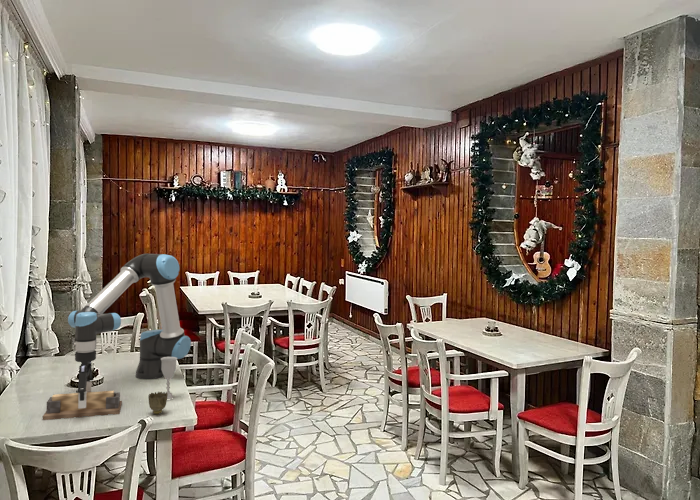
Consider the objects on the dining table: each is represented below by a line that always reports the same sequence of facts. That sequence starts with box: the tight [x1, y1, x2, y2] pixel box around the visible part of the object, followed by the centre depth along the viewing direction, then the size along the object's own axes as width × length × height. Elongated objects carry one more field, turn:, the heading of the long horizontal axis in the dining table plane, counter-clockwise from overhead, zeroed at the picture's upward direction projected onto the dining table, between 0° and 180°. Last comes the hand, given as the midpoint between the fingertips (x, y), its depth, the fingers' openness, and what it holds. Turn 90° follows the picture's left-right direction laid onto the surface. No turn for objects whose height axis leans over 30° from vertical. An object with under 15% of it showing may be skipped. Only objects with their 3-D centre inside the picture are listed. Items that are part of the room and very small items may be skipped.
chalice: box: [161, 357, 178, 400], centre depth 222 cm, size 7×7×18 cm
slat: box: [51, 390, 115, 411], centre depth 202 cm, size 22×3×6 cm, turn 110°
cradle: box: [42, 391, 123, 421], centre depth 203 cm, size 27×12×6 cm, turn 110°
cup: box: [148, 391, 168, 415], centre depth 204 cm, size 8×7×8 cm
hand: (84, 402), depth 203 cm, fingers open, 13 cm apart
